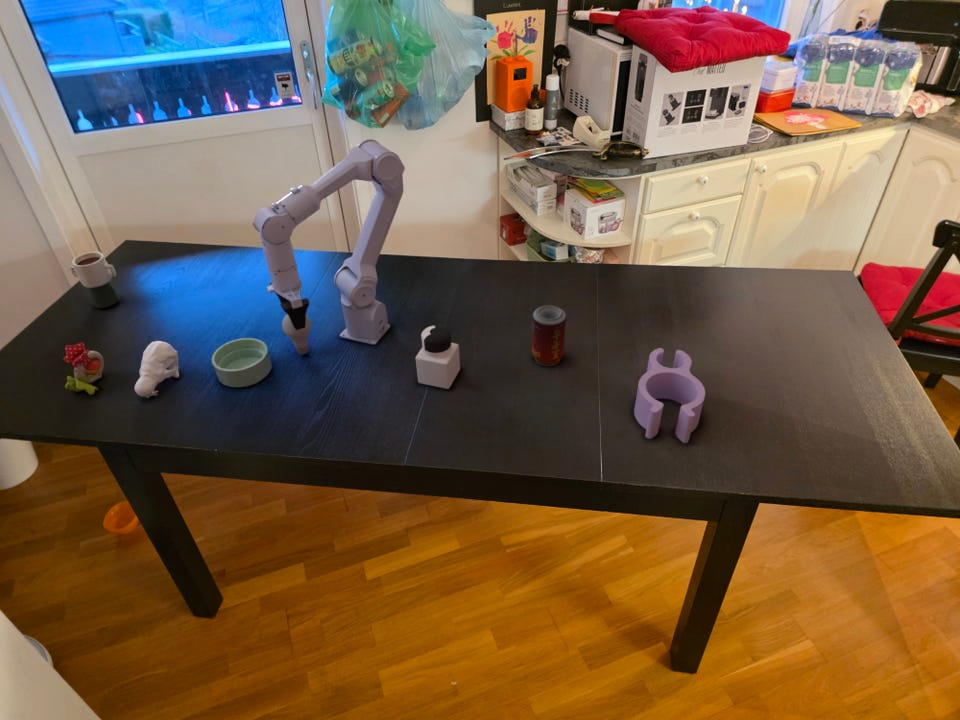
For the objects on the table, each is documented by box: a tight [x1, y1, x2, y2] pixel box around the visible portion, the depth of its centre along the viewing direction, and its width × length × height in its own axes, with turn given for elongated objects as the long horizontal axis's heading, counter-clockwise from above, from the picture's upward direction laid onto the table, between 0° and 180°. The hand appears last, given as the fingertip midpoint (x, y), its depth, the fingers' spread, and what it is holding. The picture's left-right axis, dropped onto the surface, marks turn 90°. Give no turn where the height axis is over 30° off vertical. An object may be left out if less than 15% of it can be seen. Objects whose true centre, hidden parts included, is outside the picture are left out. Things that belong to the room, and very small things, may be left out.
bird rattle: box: [62, 342, 105, 395], centre depth 140 cm, size 6×11×9 cm
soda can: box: [531, 304, 567, 367], centre depth 142 cm, size 7×7×12 cm
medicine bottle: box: [415, 324, 461, 390], centre depth 138 cm, size 7×7×12 cm
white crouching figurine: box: [134, 340, 180, 399], centre depth 140 cm, size 6×8×12 cm
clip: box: [633, 347, 706, 444], centre depth 131 cm, size 20×12×7 cm, turn 169°
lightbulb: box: [281, 313, 312, 355], centre depth 146 cm, size 6×6×11 cm
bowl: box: [211, 337, 273, 388], centre depth 143 cm, size 12×12×5 cm
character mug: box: [69, 251, 121, 309], centre depth 164 cm, size 11×7×13 cm, turn 88°
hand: (295, 319), depth 144 cm, fingers open, 7 cm apart
